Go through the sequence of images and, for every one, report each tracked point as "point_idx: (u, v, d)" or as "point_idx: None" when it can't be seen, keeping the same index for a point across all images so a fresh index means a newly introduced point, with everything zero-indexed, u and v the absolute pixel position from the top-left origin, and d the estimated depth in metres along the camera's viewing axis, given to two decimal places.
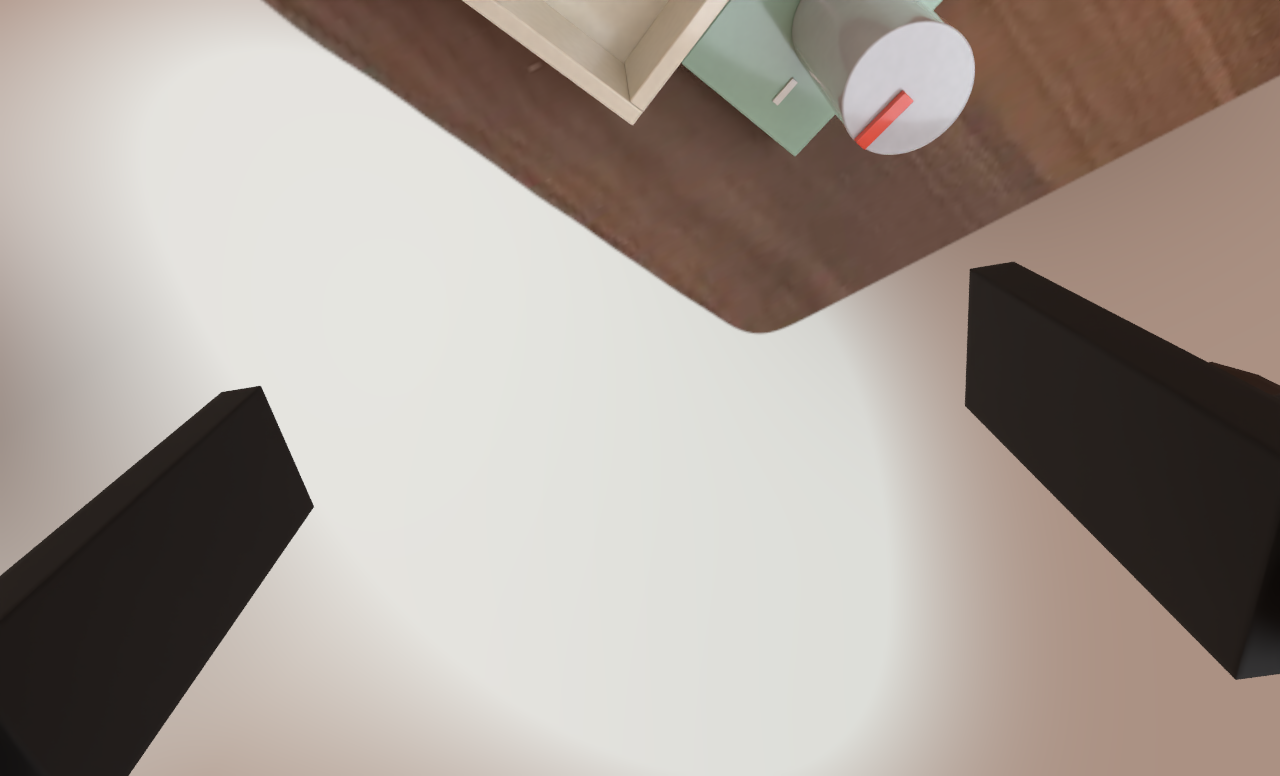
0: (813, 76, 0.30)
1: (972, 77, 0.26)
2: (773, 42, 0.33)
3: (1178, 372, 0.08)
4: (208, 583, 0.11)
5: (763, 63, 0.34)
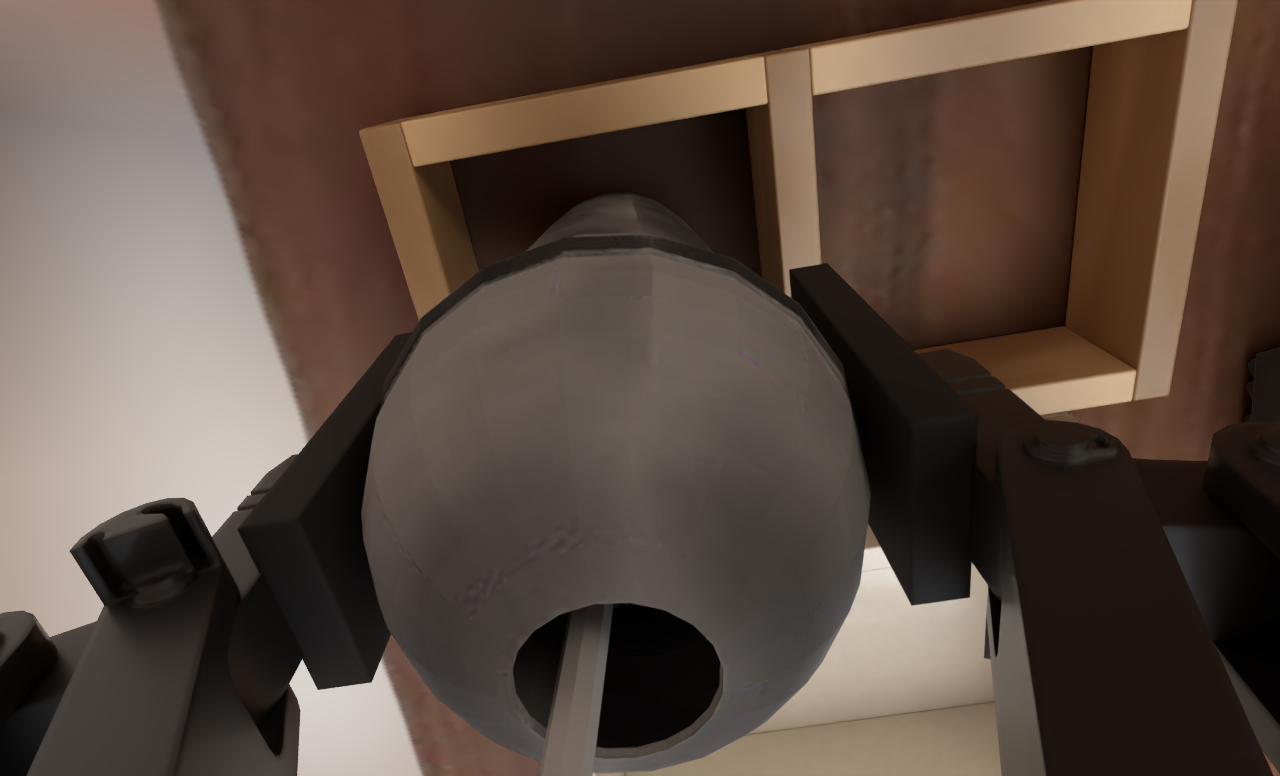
0: None
1: None
2: None
3: (883, 355, 0.10)
4: None
5: None
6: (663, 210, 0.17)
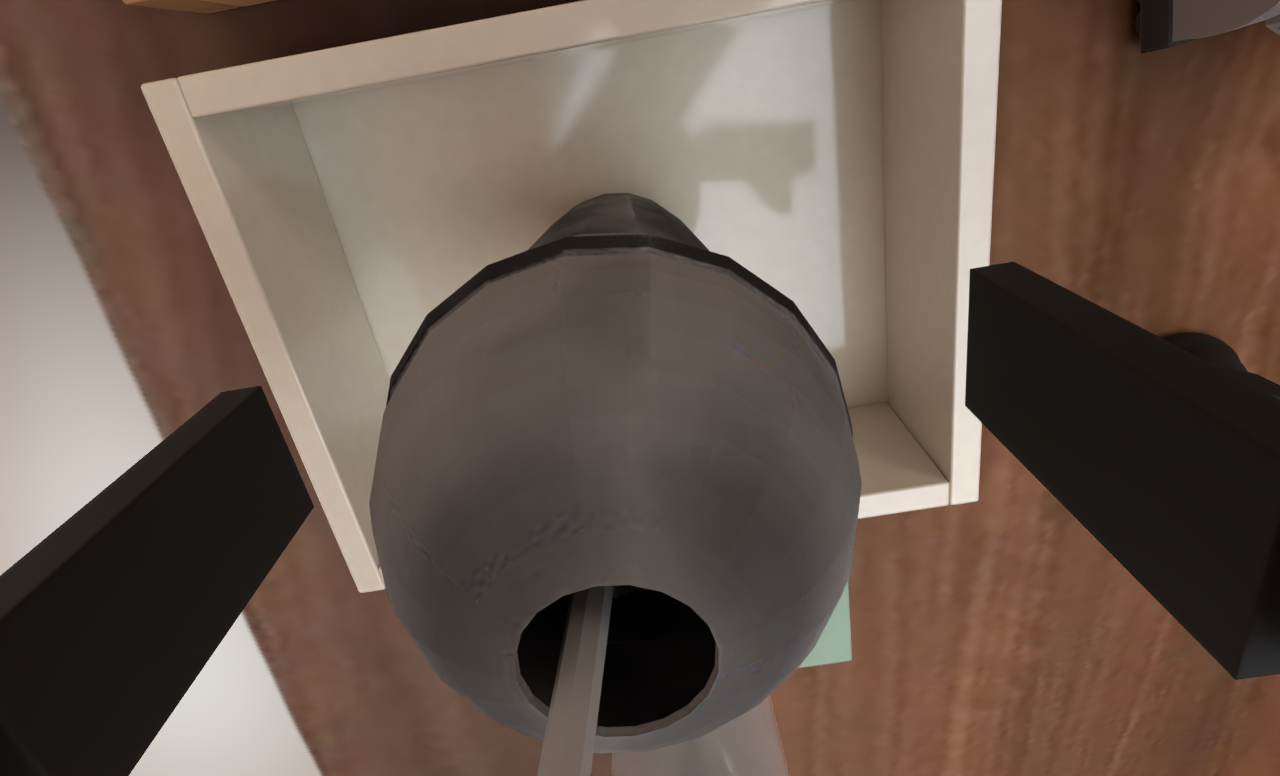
0: None
1: None
2: None
3: (1178, 372, 0.08)
4: (208, 583, 0.11)
5: None
6: (661, 210, 0.17)
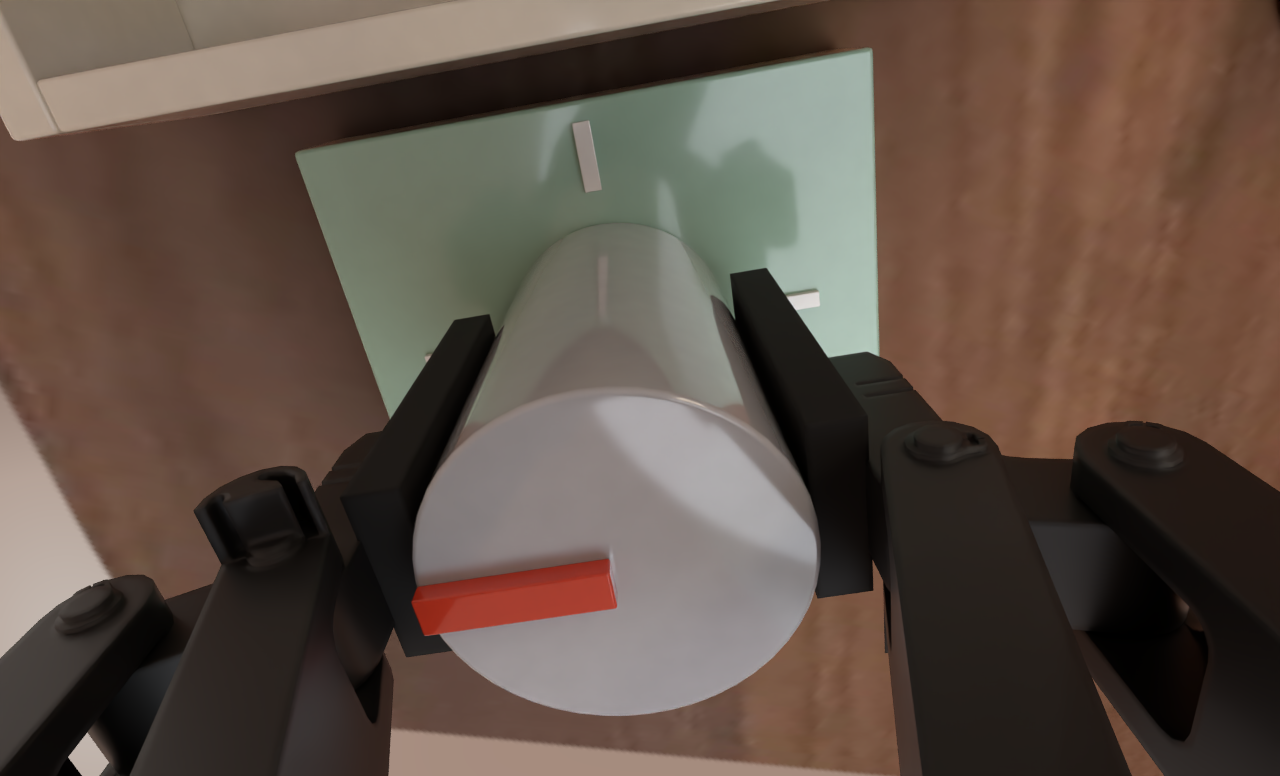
0: None
1: (777, 645, 0.09)
2: (486, 262, 0.16)
3: (796, 358, 0.10)
4: None
5: (447, 282, 0.16)
6: None
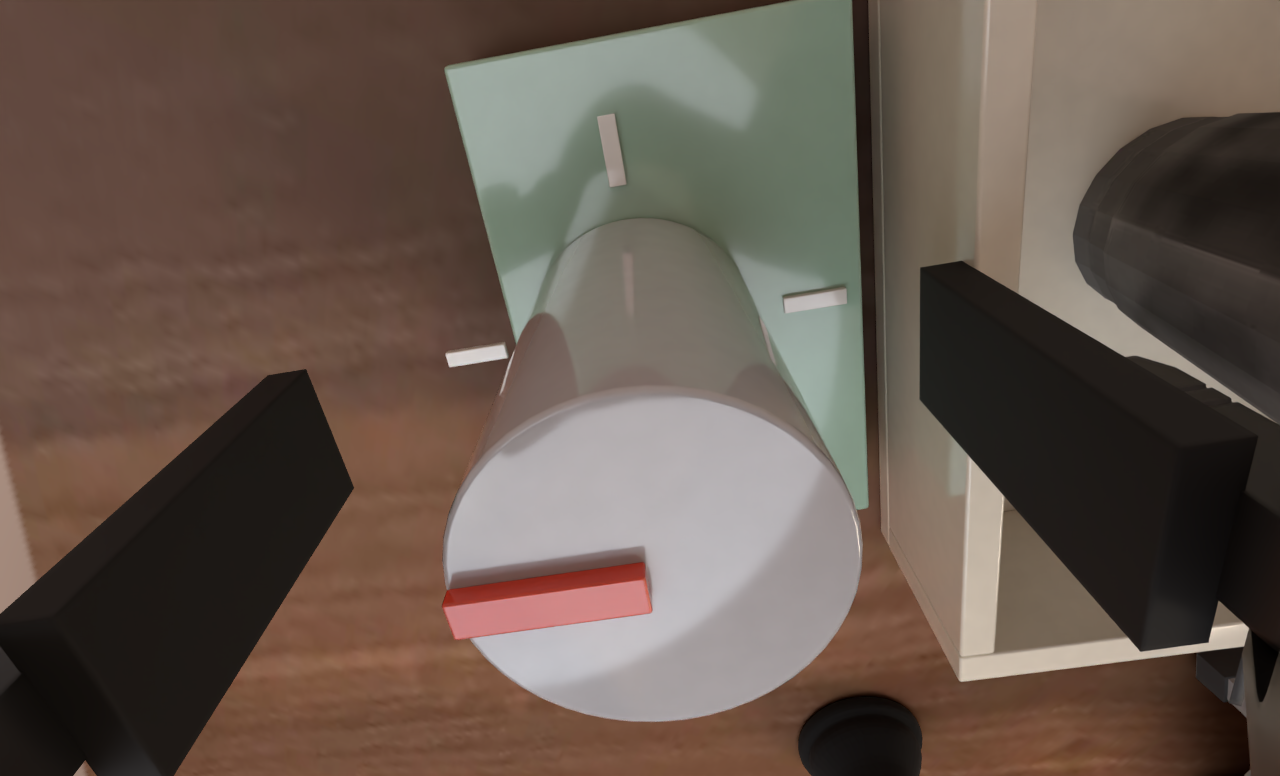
0: None
1: (815, 651, 0.09)
2: (719, 194, 0.15)
3: (1092, 364, 0.09)
4: (264, 556, 0.11)
5: (699, 149, 0.14)
6: None
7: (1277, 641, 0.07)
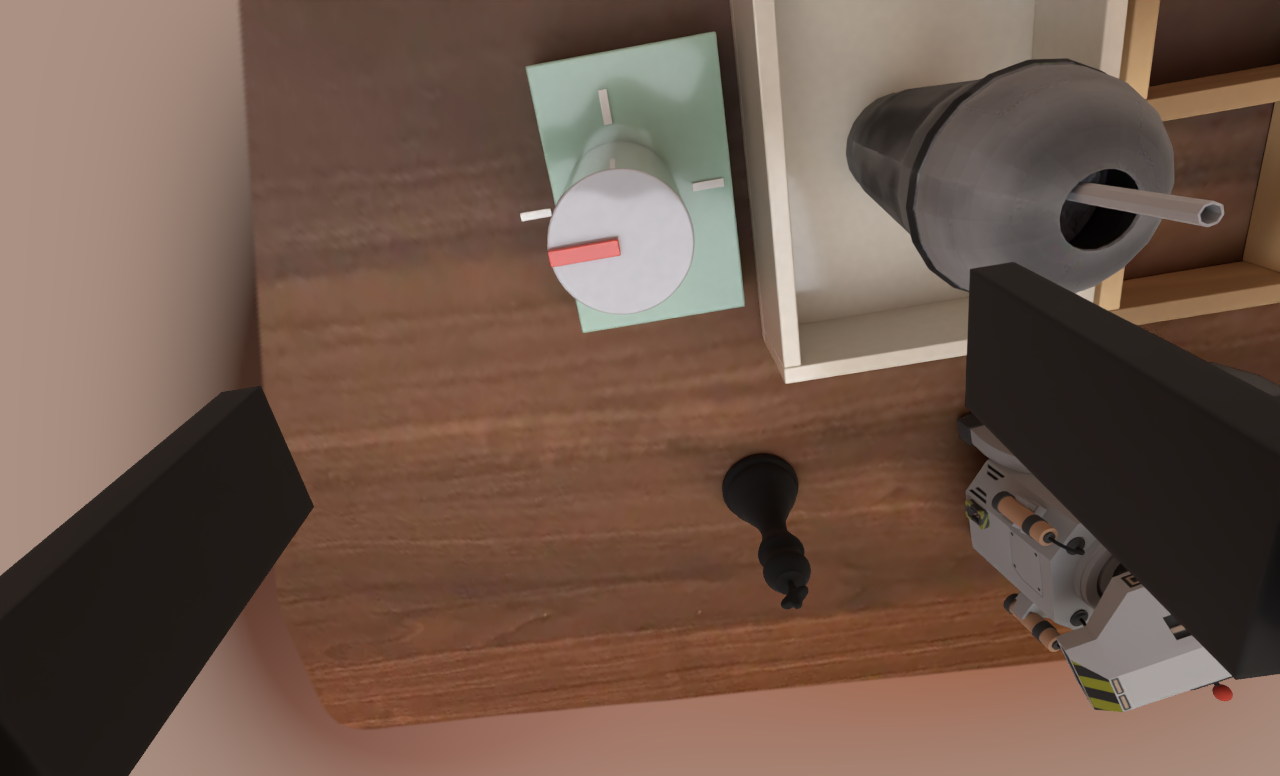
0: None
1: (681, 279, 0.24)
2: (658, 129, 0.30)
3: (1178, 372, 0.08)
4: (208, 583, 0.11)
5: (647, 106, 0.30)
6: None
7: None
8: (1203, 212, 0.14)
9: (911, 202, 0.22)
